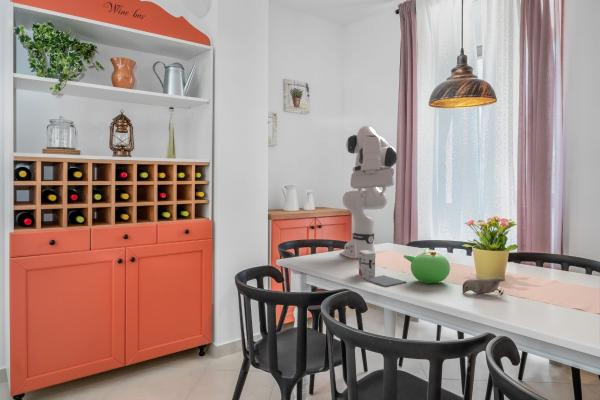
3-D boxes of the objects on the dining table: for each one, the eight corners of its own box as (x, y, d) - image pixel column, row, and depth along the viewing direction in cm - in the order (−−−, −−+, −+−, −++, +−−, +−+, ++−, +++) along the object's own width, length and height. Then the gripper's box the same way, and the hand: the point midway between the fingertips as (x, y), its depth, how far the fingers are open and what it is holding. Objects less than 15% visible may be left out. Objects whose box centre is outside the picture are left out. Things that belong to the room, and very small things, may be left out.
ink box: (358, 274, 208) (358, 250, 207) (367, 273, 209) (367, 249, 208) (365, 278, 199) (366, 253, 199) (375, 277, 201) (375, 252, 200)
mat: (363, 280, 196) (363, 278, 196) (383, 276, 203) (383, 275, 203) (385, 287, 184) (385, 285, 184) (406, 282, 192) (406, 281, 191)
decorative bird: (460, 291, 180) (461, 274, 179) (501, 293, 177) (501, 276, 176) (463, 295, 174) (464, 277, 174) (505, 297, 172) (505, 279, 171)
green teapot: (430, 289, 181) (431, 255, 180) (401, 280, 195) (401, 249, 194) (456, 283, 191) (458, 251, 190) (427, 275, 205) (428, 245, 204)
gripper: (395, 167, 199) (395, 196, 197) (353, 171, 208) (353, 198, 205) (392, 164, 193) (392, 194, 191) (349, 168, 202) (349, 196, 200)
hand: (371, 196), depth 198 cm, fingers open, 8 cm apart
